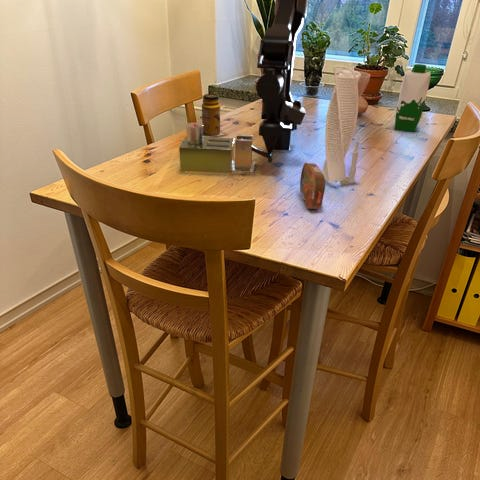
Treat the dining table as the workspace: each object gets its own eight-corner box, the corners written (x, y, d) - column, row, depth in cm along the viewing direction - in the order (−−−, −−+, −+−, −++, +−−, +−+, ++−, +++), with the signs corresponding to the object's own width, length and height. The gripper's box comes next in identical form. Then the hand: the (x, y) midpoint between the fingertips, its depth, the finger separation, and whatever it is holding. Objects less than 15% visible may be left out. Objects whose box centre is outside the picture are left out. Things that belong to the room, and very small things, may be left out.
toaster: (234, 163, 135) (234, 137, 130) (231, 175, 127) (231, 149, 123) (184, 160, 136) (182, 135, 131) (177, 172, 128) (176, 146, 123)
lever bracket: (254, 165, 134) (255, 133, 128) (253, 175, 127) (254, 142, 122) (234, 164, 134) (234, 132, 129) (231, 174, 128) (231, 141, 122)
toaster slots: (230, 140, 129) (230, 140, 129) (228, 146, 124) (228, 146, 124) (209, 139, 129) (208, 139, 129) (206, 145, 125) (206, 145, 125)
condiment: (225, 135, 156) (225, 96, 149) (203, 138, 152) (202, 99, 145) (214, 129, 161) (213, 91, 154) (192, 133, 157) (191, 94, 150)
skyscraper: (328, 188, 121) (345, 68, 104) (312, 177, 127) (326, 62, 110) (355, 183, 124) (376, 66, 107) (338, 173, 130) (355, 60, 113)
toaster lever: (270, 158, 131) (274, 150, 130) (269, 165, 126) (273, 157, 125) (238, 142, 129) (241, 134, 128) (236, 149, 125) (240, 141, 123)
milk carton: (419, 127, 169) (434, 65, 156) (416, 133, 162) (432, 69, 150) (394, 124, 171) (407, 63, 159) (391, 130, 165) (404, 67, 152)
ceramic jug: (335, 106, 190) (340, 67, 181) (370, 111, 185) (377, 71, 176) (322, 117, 177) (327, 75, 168) (360, 122, 172) (367, 80, 163)
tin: (298, 190, 120) (301, 157, 115) (310, 189, 120) (314, 157, 115) (310, 215, 108) (314, 180, 103) (323, 215, 108) (328, 180, 103)
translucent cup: (184, 140, 128) (183, 122, 125) (199, 138, 129) (198, 120, 126) (190, 145, 125) (189, 126, 122) (205, 143, 126) (205, 124, 123)
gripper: (306, 101, 110) (300, 166, 120) (304, 85, 125) (298, 144, 134) (260, 100, 111) (257, 164, 120) (263, 83, 125) (260, 142, 135)
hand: (270, 153), depth 127 cm, fingers closed
